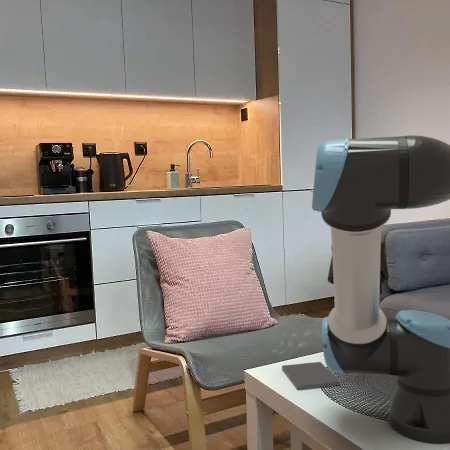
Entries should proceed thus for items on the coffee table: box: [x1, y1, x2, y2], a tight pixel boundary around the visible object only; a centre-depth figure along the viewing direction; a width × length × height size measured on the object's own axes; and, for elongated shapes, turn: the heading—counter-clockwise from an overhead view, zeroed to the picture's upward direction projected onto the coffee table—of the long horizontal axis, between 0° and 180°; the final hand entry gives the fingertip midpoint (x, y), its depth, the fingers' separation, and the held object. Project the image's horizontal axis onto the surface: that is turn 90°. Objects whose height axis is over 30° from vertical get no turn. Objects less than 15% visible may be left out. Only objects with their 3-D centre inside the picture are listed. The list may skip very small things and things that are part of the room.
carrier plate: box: [281, 361, 341, 391], centre depth 133 cm, size 14×11×1 cm
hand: (358, 308), depth 134 cm, fingers closed on mechanical component, 9 cm apart
